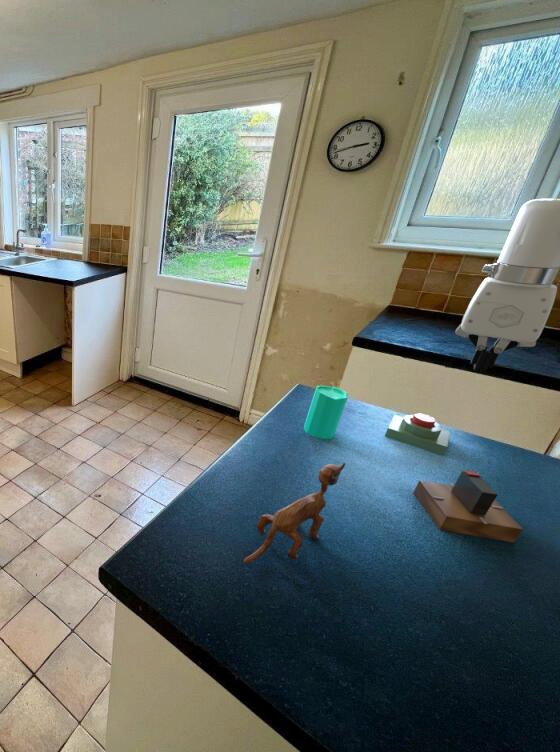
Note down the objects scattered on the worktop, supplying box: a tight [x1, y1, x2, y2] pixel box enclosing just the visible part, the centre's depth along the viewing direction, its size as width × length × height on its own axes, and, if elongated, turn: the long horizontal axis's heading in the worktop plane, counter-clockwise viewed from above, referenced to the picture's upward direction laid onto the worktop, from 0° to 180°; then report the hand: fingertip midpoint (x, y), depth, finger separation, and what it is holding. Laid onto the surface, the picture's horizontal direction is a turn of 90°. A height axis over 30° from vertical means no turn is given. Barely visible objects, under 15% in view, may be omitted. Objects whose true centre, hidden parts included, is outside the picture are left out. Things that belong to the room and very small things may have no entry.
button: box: [411, 412, 436, 428], centre depth 90 cm, size 4×4×2 cm
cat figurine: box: [243, 462, 346, 565], centre depth 63 cm, size 18×7×14 cm, turn 118°
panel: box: [412, 480, 523, 544], centre depth 71 cm, size 10×10×3 cm
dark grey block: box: [452, 469, 499, 515], centre depth 69 cm, size 6×2×5 cm, turn 165°
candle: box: [303, 384, 349, 440], centre depth 92 cm, size 6×6×12 cm
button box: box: [384, 414, 452, 456], centre depth 91 cm, size 10×8×4 cm
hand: (479, 368), depth 81 cm, fingers closed
